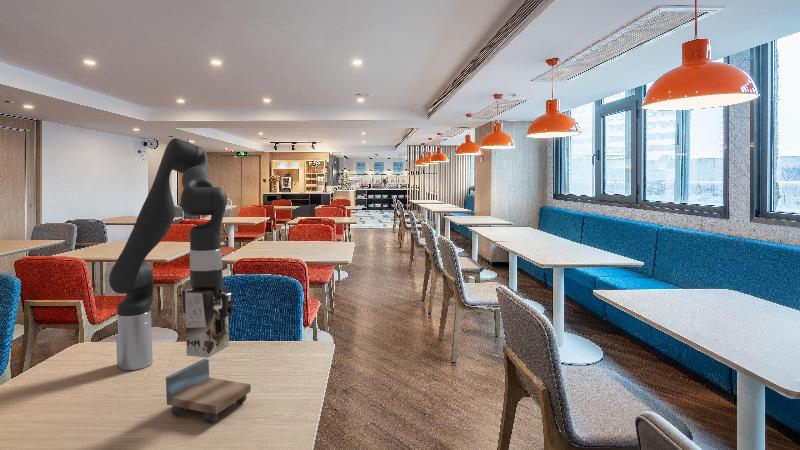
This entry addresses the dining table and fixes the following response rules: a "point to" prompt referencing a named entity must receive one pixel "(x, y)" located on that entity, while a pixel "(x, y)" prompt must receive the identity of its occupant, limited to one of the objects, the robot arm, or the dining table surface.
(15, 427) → the dining table surface
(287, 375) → the dining table surface
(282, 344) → the dining table surface
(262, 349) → the dining table surface
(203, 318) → the coffee box
